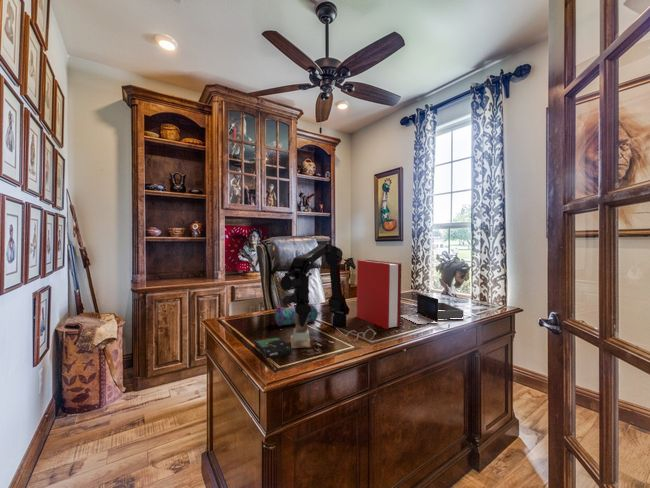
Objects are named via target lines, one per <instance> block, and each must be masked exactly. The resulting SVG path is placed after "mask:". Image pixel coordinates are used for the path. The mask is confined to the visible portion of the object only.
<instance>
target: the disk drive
mask: <svg viewBox="0 0 650 488" xmlns="http://www.w3.org/2000/svg"><path fill="white" fill-rule="evenodd" d="M255 348H256V349H257V348H258V349H259V350H260V351H259V350H258V349H257V350H258V351H259V352H260V353H261V355H262V356H263V355H264V356H265V357H266V358H269V359H271V358H270V357H274V358H277V357H276V356H279V357H284V356H283V355H285V356H289V354H290V355H293V348H291V345H289V344H287V343H286V342H285V341H284V340H283V339H282V338H281V337H279V336H277V337H271V338H266V339H261V340H256V342H255ZM264 356H263V357H264ZM265 357H264V358H265ZM266 358H265V359H266Z"/></svg>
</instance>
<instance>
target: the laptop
mask: <svg viewBox="0 0 650 488" xmlns="http://www.w3.org/2000/svg"><path fill="white" fill-rule="evenodd" d="M416 297H417V298H416V314H418V318H417V317H416V315H414V316H413V315H412V316H413V317H411V316H410V318H408V317H409V316H408V315H409V314H401V318H402V317H403V319H404V318H405V320H406V319H407V321H409V320H410V321H409V322H411V321H412V323H413V322H414V323H413V324H415V323H416V324H415V325H417V324H422V325H428V324H427V323H431V322H433V321H435V322H438V323H439V320H438V303H439V299H438V298H435V297H433V296H429V295H426V294H422V293H420V292H417V293H416ZM418 320H419V321H418ZM424 320H425V321H424Z"/></svg>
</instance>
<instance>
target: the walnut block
mask: <svg viewBox="0 0 650 488" xmlns="http://www.w3.org/2000/svg"><path fill="white" fill-rule="evenodd" d="M295 329H296V331H307V329H308V323H307V319H306V321H305V324H304V326H303V327H301V326H300V320H299V315H298V314H296V324H295Z"/></svg>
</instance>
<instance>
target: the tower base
mask: <svg viewBox="0 0 650 488" xmlns="http://www.w3.org/2000/svg"><path fill="white" fill-rule="evenodd" d="M290 347H291V348H292V349H295V348H296V349H297V348H311V339H310V338H309V340H308V341H294V334H292V335H290Z"/></svg>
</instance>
